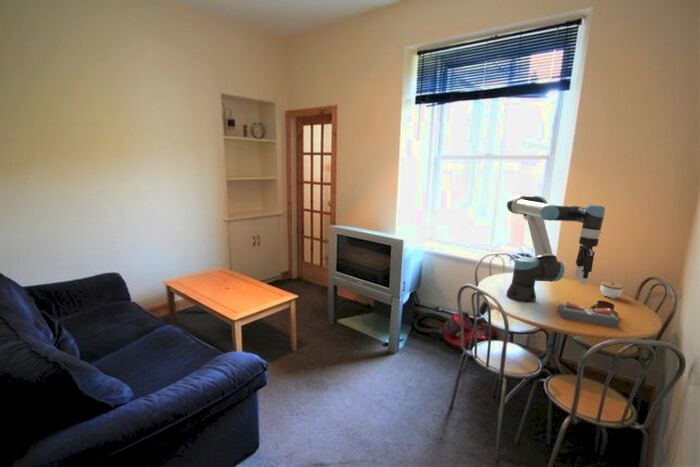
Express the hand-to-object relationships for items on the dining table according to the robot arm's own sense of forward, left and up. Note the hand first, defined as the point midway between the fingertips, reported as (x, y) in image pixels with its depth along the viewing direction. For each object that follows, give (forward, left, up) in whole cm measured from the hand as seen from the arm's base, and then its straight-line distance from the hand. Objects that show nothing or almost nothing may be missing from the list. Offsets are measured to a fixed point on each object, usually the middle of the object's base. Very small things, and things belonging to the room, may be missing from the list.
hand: (580, 281), depth 170 cm
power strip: (+6, 0, -19) cm, 20 cm away
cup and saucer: (+17, +12, -20) cm, 29 cm away
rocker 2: (+12, 0, -14) cm, 18 cm away
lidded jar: (+31, +45, -19) cm, 58 cm away
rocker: (0, 0, -14) cm, 14 cm away
